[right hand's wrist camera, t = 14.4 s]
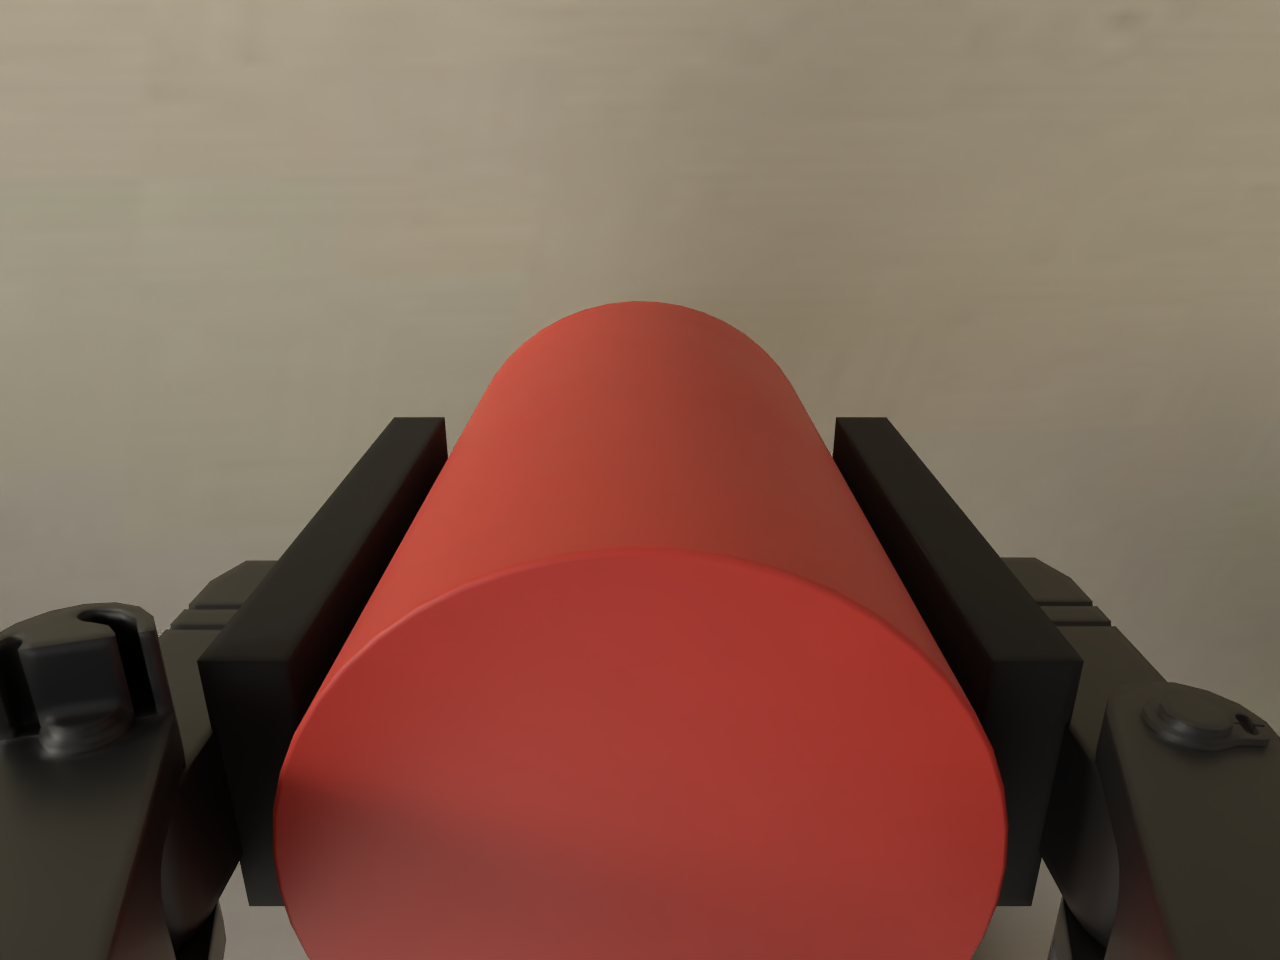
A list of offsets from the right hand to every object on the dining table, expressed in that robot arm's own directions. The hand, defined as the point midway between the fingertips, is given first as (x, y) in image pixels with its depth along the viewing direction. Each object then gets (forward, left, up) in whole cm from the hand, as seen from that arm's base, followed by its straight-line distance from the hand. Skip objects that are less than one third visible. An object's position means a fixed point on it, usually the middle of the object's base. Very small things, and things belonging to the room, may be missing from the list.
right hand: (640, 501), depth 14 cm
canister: (0, 0, -2) cm, 2 cm away
